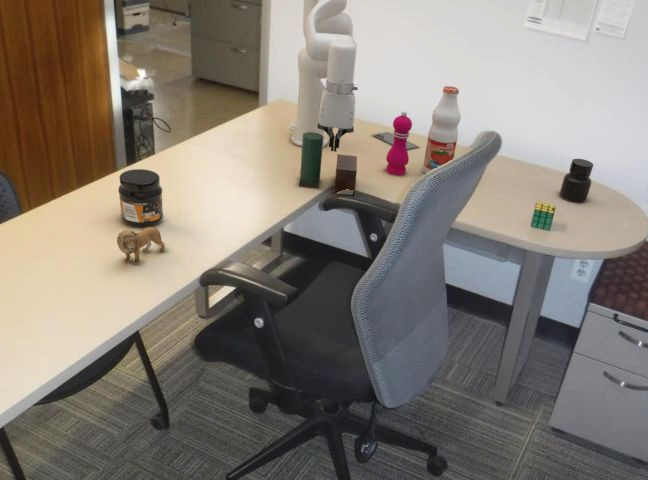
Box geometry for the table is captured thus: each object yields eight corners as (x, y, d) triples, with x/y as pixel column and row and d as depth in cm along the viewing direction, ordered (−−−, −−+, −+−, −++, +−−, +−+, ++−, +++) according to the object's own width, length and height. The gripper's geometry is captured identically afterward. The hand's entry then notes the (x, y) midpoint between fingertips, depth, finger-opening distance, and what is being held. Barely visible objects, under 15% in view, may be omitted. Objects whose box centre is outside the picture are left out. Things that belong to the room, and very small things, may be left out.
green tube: (303, 194, 217) (279, 148, 209) (304, 186, 222) (281, 141, 214) (341, 179, 215) (318, 131, 206) (341, 171, 220) (319, 124, 211)
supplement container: (125, 231, 180) (122, 186, 173) (117, 212, 187) (113, 169, 180) (168, 226, 184) (166, 183, 178) (158, 209, 192) (156, 166, 185)
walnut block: (333, 194, 214) (336, 168, 210) (335, 178, 224) (337, 154, 220) (353, 196, 214) (356, 170, 210) (354, 180, 224) (356, 156, 220)
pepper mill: (407, 169, 238) (416, 109, 227) (405, 177, 232) (415, 116, 221) (385, 166, 238) (393, 106, 227) (383, 174, 232) (392, 113, 221)
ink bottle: (589, 197, 237) (600, 162, 230) (584, 205, 230) (595, 170, 223) (561, 189, 240) (570, 154, 233) (555, 197, 233) (564, 162, 226)
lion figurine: (132, 273, 163) (129, 238, 158) (112, 266, 165) (109, 231, 160) (170, 248, 175) (169, 214, 170) (152, 242, 176) (150, 208, 172)
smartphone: (403, 149, 252) (372, 134, 261) (403, 151, 252) (372, 135, 261) (418, 146, 257) (387, 131, 266) (418, 147, 257) (387, 132, 266)
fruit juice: (442, 166, 244) (457, 83, 229) (455, 177, 237) (471, 92, 221) (417, 168, 240) (431, 83, 225) (430, 179, 233) (444, 92, 218)
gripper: (365, 86, 206) (358, 148, 216) (313, 80, 205) (309, 142, 215) (365, 94, 200) (358, 157, 210) (312, 88, 199) (307, 151, 209)
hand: (333, 149), depth 213 cm, fingers closed
